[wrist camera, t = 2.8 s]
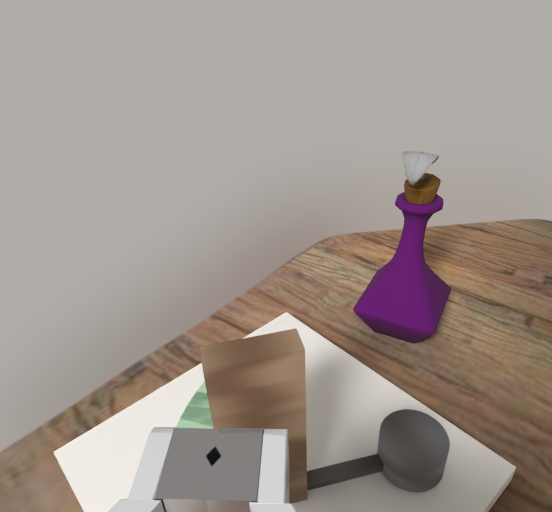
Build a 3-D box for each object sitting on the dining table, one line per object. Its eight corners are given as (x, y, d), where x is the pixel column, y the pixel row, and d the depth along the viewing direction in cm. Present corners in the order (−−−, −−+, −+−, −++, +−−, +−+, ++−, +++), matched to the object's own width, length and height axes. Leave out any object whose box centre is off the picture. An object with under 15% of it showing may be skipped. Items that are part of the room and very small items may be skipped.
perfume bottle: (375, 294, 50) (390, 132, 40) (446, 313, 47) (480, 141, 37) (350, 336, 45) (360, 159, 35) (428, 361, 41) (463, 173, 32)
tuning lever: (423, 427, 33) (451, 281, 26) (456, 482, 30) (499, 330, 23) (171, 488, 30) (128, 341, 23) (173, 558, 27) (124, 408, 20)
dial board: (286, 323, 47) (286, 310, 46) (511, 480, 31) (517, 465, 31) (59, 464, 34) (52, 449, 33) (250, 834, 19) (247, 826, 18)
